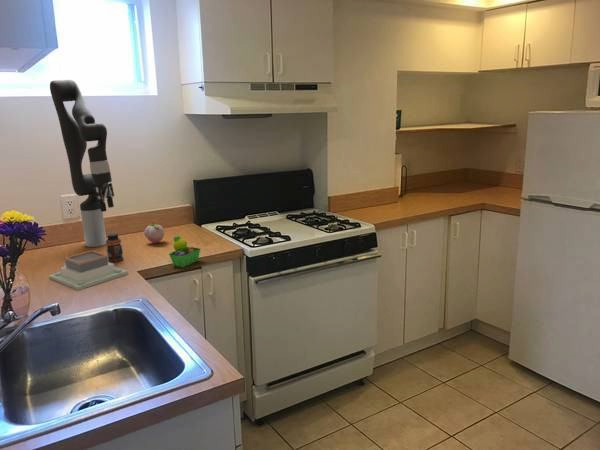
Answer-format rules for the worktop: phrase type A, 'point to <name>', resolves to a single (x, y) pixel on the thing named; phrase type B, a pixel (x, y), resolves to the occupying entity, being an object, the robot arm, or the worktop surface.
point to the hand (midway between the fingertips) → (107, 209)
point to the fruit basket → (183, 253)
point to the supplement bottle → (114, 248)
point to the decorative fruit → (154, 233)
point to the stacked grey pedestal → (87, 270)
